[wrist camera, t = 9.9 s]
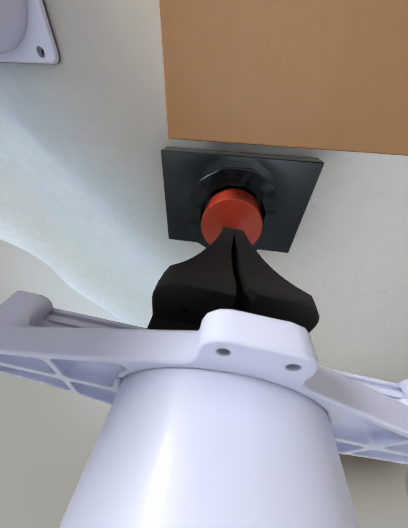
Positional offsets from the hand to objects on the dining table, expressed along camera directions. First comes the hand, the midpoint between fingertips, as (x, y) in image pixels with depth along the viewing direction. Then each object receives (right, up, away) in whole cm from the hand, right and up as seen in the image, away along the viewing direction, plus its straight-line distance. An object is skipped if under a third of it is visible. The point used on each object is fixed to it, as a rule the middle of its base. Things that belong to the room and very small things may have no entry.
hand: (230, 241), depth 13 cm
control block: (+1, +4, +5) cm, 7 cm away
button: (+1, +2, +3) cm, 4 cm away
